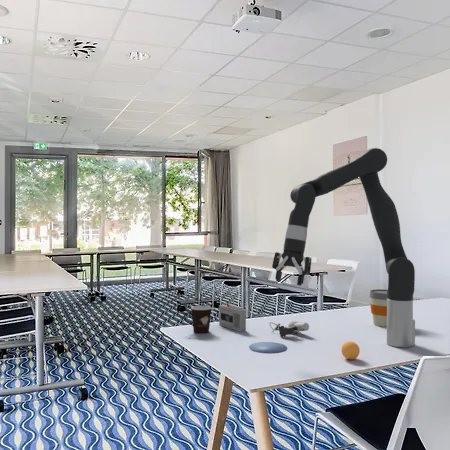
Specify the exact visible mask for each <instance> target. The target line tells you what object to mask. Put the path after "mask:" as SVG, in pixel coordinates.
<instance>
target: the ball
mask: <svg viewBox="0 0 450 450" xmlns="http://www.w3.org/2000/svg"><path fill="white" fill-rule="evenodd" d="M340 349H341V354H342V356H343V357H344V358H346V359H347V360H355V359H357V358H358V357H359V355H360V353H361V352H360V347H359V345H358V344H357V343H356V342H355V341H352V340H349V341H345V342H344V343H343V344H342V346H341V348H340Z"/></svg>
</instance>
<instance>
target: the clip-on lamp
mask: <svg viewBox="0 0 450 450" xmlns="http://www.w3.org/2000/svg"><path fill="white" fill-rule="evenodd" d="M271 324H272V325H275V327H274V328H273V327H272V325H271ZM281 324H282V323H278V324H277V323H275V322H272V321H269V326H270V328H271V330H272V331H277V330H278V331H279V335H280V338H284V337H286V336H287V335H295V334H297V333H299V334H300V335H302V332H308V331H309V329H310V325H309V323H308V322H298V321H296V320H291V321H290V322H289V323H288V326H284V325H281Z"/></svg>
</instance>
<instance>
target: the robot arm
mask: <svg viewBox="0 0 450 450" xmlns="http://www.w3.org/2000/svg"><path fill="white" fill-rule="evenodd" d="M387 163H388V155H387V154H386V152H385V151H384V150H383V149H381V148H378V147H373V148H369V149H367V150H365V151H362V152H360V153H359V154H358V155H357V156H356V158H355V160H353V161H351V162H349V163H346V164H345V165H342V166H340V167H337V168H335V169H332V170H329V171H327V172H324V173H323V174H320V175H318V176H317V177H315V178H314V179H311V180H309V181H306V182H304V183H301V184H299V185H296V186H295V187H293V189H291V191H290V195H289V197H290V201H291V202H292V203H294V204H295V205H294V208H293V209H292V210H291V211H290V213H289V217H288V223H287V228H286V232H285V237H284V244H283V252H282V253H281V252H278V251H276V252H275V253H274V256H273V261H272V265H271V268H272V269H275V271H276V273H275V281H276V282H280V283H281V280H282V275H283V272H282V271H283V270H284V269H285V268H286V267H292V268H295V269H296V270H297V272H298V276H297V282H296V285H297V286H302V285H304V281H305V276H306V275H310V274H311V267H312V257H309V256H304V254H305V252H306V251H305V248H306V243H307V239H308V238H307V237H308V227H309V220H310V215H311V213H312V210H313V207H314V205H315V202H316V198H317V197H319V196H324V195H326V194H327V195H328V194H329V193H331V192H332V191H335V190H337V189H339V188H341V187H343V186H345V185H346V184H348V183H350V182H352V181H354V180H355V179H359V180H360V182H361V184H362V187H363V190H364V193H365V197H366V200H367V204H368V207H369V211H370V215H371V219H372V223H373V225H374V227H375V231H376V235H377V236H378V239H379V242H380V245H381V247H382V251H383V258H384V264H385V269H386V273H387V274H388V278H387V279H388V280H387V281H388V284H387V286H388V287H387V290H388V291H387V327H386V344H387V345H388V346H391V347H396V348H412V347H413V346H415V345H416V320H415V318H414V293H415V279H416V277H415V276H416V275H415V274H416V270H415V266H414V264H413V262H412V261H411V259H409V258H408V256H407V255H406V252H405V250H404V246H403V243H402V237H401V225H400V218H399V214H398V211H397V207H396V205H395V201H393V199H392V197H391V196H390V195H389V194H388V193H387V192H386V190H385V189H384V187H383V186H382V184H381V180H380V178H379V172H382V170H383V169H384V168H386V166H387ZM281 259H282V260H281ZM303 263H304V266H303V265H302V264H303Z"/></svg>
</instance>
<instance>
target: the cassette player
mask: <svg viewBox="0 0 450 450" xmlns="http://www.w3.org/2000/svg"><path fill="white" fill-rule="evenodd" d="M218 309H219V310H218V311H219V312H218V317H219V318H218V323H219V326H222V327H225V328H228V329H231V330H234V331H237V332H239V331H240V333H243V332H247V310H246V309H243V306H237V305H235V304H231V303H227V304H219V305H218ZM242 331H243V332H242Z"/></svg>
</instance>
